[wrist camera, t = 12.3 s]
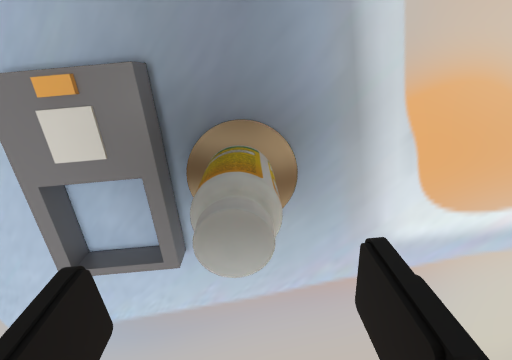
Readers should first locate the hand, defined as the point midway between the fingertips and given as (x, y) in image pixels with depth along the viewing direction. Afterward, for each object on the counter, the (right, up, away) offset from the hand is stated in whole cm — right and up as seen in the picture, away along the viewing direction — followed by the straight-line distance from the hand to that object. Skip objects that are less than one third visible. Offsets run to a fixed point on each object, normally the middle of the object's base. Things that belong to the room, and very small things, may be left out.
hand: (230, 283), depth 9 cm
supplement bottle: (0, +4, +13) cm, 13 cm away
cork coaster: (0, +4, +13) cm, 14 cm away
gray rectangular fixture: (-11, +4, +13) cm, 17 cm away
